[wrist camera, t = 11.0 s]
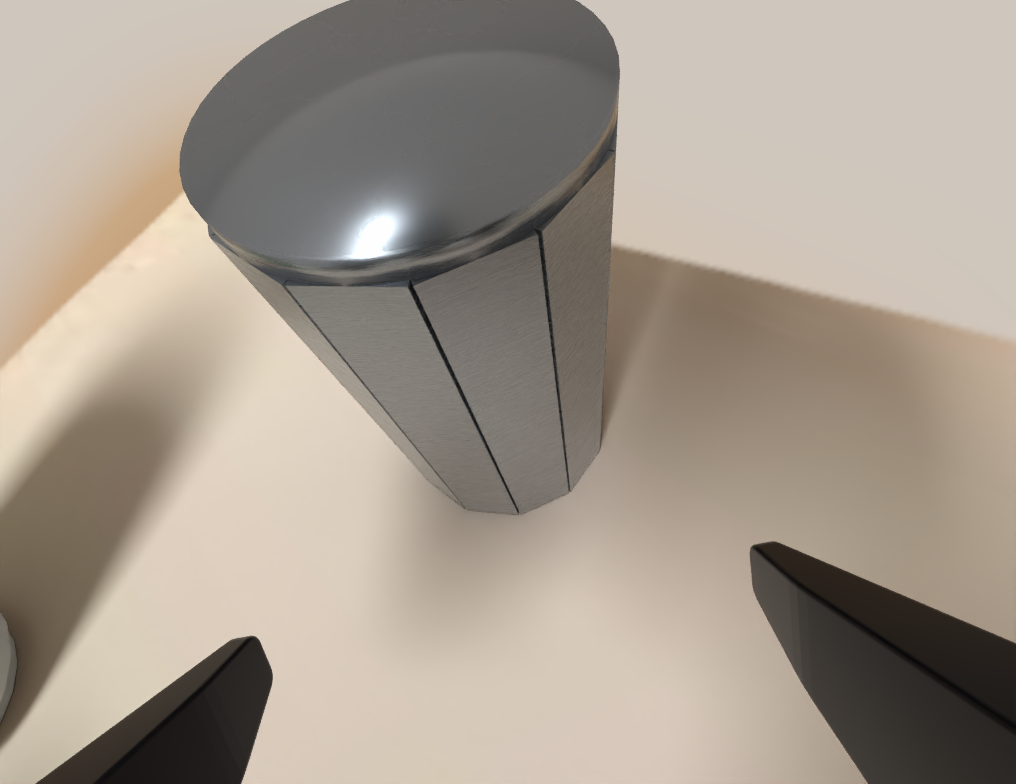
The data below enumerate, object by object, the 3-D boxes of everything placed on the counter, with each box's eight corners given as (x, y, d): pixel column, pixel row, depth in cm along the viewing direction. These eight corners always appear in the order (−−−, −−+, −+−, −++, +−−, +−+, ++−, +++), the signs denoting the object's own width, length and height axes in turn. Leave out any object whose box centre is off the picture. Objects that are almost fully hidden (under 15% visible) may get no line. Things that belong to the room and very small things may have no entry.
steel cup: (525, 555, 17) (397, 345, 6) (379, 443, 20) (100, 155, 8) (638, 396, 19) (708, 18, 8) (491, 316, 22) (390, -44, 11)
